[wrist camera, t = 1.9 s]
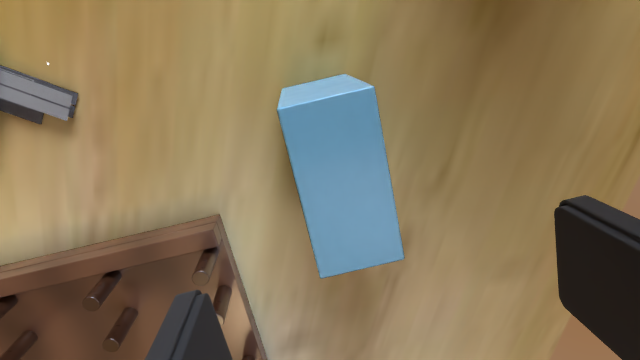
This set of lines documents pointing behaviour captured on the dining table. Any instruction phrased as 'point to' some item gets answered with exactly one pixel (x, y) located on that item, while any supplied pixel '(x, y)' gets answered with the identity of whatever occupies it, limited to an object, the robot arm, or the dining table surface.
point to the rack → (122, 295)
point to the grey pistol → (33, 97)
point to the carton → (341, 173)
